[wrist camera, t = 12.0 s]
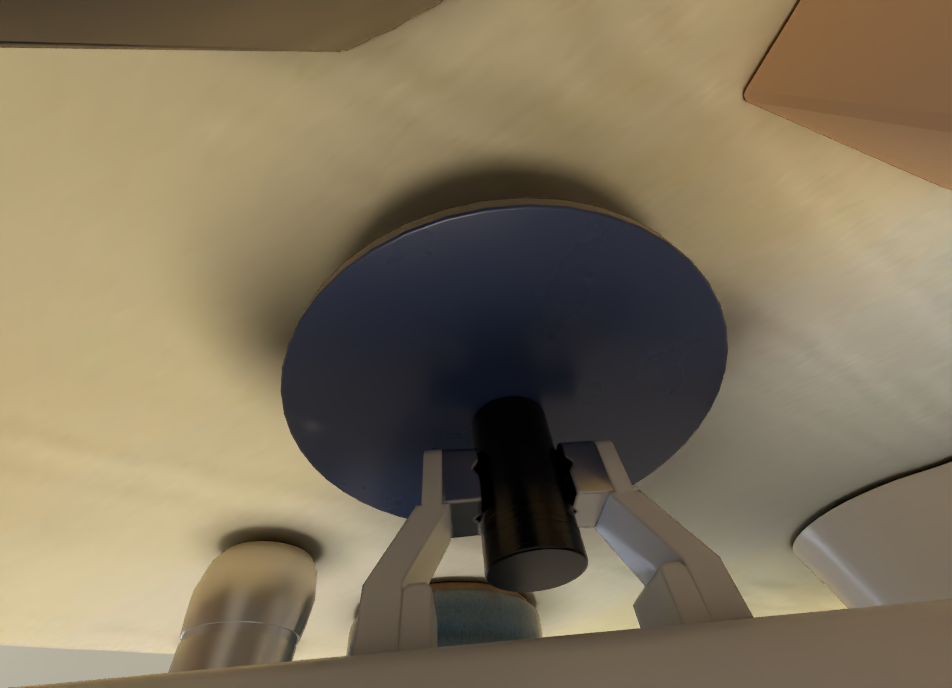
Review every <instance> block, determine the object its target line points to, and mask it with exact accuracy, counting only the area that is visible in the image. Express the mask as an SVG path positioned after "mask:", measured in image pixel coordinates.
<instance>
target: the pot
mask: <svg viewBox="0 0 952 688" xmlns="http://www.w3.org/2000/svg"><path fill="white" fill-rule="evenodd" d="M441 2H442V0H0V48H73V49H148V50H224V51H299V52H341V51H347V50H349V49H351V48H353V47H355V46H357V45H359V44H361V43H363V42H365V41H367V40H369V39H371V38H373V37H376V36H378V35H381V34H383V33H385V32H388V31H390V30H393V29H395V28H397V27H398V26H400V25H402V24H403V23H405V22H406V21H408V20H410V19H411V18H413V17H415V16H416V15H418V14H420V13H422V12H424V11H426V10H428V9H430V8H432V7H434V6H436V5H437V4H439V3H441Z"/></svg>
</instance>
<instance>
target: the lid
mask: <svg viewBox="0 0 952 688" xmlns="http://www.w3.org/2000/svg"><path fill="white" fill-rule="evenodd" d="M727 352H728V344H727V330H726V324H725V320H724V317H723V313H722V310H721V306H720V303H719V301H718V299H717V297H716V295H715V293H714V291H713V290H712V288H711V286H710V284H709V282H708V280H707V279H706V278H705V277H704V276H703V274H702V273H701V272H700V271H699V269H698V268H697V267H696V266H695V265H694V263H693V262H692V261H691V260H690V259H689V258H687V257H686V256H685V255H684V254H683V253H681V252H680V251H679V250H678V249H677V248H675V247H674V246H673V245H672V244H671V243H669V242H668V241H667V240H666V239H664V238H663V237H662V236H661V235H659V234H658V233H656V232H654V231H652V230H651V229H649V228H647V227H645V226H643V225H642V224H640V223H638V222H636V221H635V220H633V219H631V218H628V217H625V216H622V215H620V214H617V213H614V212H611V211H609V210H606V209H603V208H600V207H596V206H591V205H586V204H581V203H576V202H571V201H566V200H556V199H537V198H515V199H503V200H491V201H482V202H477V203H473V204H468V205H464V206H459V207H454V208H450V209H445V210H442V211H439V212H437V213H434V214H431V215H428V216H426V217H423V218H420V219H418V220H415V221H412V222H409V223H407V224H405V225H403V226H401V227H399V228H397V229H395V230H394V231H392V232H390V233H388V234H386V235H384V236H382V237H380V238H378V239H377V240H375V241H373V242H372V243H370V244H369V245H368V246H366V247H365V248H364V249H362V250H361V251H359V252H358V253H357V254H355V255H354V256H353V257H351V258H350V259H349V260H347V261H346V262H345V263H344V264H343V265H342V266H341V267H340V268H339V269H338V270H337V271H336V272H335V273H334V274H333V275H332V276H331V277H330V278H329V279H328V280H327V281H326V282H325V283H324V284H323V285H322V286H321V287H320V289H319V290H318V292H317V293H316V294H315V296H314V297H313V299H312V300H311V301H310V303H309V304H308V306H307V307H306V308H305V310H304V312H303V314H302V316H301V318H300V320H299V322H298V324H297V326H296V328H295V330H294V332H293V334H292V336H291V339H290V341H289V343H288V346H287V350H286V354H285V358H284V362H283V366H282V377H281V396H282V403H283V410H284V415H285V418H286V421H287V423H288V426H289V429H290V432H291V434H292V436H293V438H294V440H295V441H296V443H297V445H298V447H299V449H300V450H301V452H302V453H303V454H304V456H305V457H306V458H307V459H308V461H309V462H310V463H311V464H312V466H313V467H314V468H315V469H316V470H317V471H319V472H320V473H321V474H322V475H323V476H324V477H325V478H326V479H327V480H328V481H330V482H331V483H332V484H334V485H335V486H336V487H338V488H339V489H340V490H342V491H343V492H345V493H347V494H348V495H350V496H352V497H354V498H355V499H357V500H359V501H361V502H363V503H365V504H367V505H369V506H372V507H374V508H376V509H378V510H381V511H384V512H387V513H390V514H393V515H396V516H399V517H403V518H407V519H408V517H409V516H410V514H411V513H412V511H413V510H414V508H415V507H416V506H418V505H422V480H423V456H424V451H425V450H442V451H443V450H445V449H470V448H477V455H478V475H479V476H480V487H481V499H482V508H481V515H480V524H481V536H482V547H483V558H484V570H485V577H486V579H487V581H488V582H489V584H491V585H492V586H494V587H496V588H498V589H502V590H506V591H513V592H534V591H541V590H547V589H551V588H555V587H558V586H561V585H564V584H566V583H568V582H570V581H572V580H574V579H576V578H577V577H579V576H580V575H581V574H582V573H583V572H584V571H585V570H586V568H587V566H588V558H587V554H586V551H585V547H584V544H583V541H582V537H581V534H580V531H579V527H578V524H577V520H576V517H575V514H574V510H573V507H572V504H571V500H570V497H569V494H568V490H567V487H566V483H565V480H564V477H563V473H562V470H561V467H560V463H559V460H558V456H557V453H556V448H557V445H558V443H563V442H576V441H589V440H591V441H597V440H610V441H611V442H612V443H613V445H614V447H615V449H616V451H617V453H618V456H619V458H620V460H621V462H622V464H623V466H624V469H625V471H626V473H627V475H628V477H629V480H630V482H631V484H632V485H633V484H635V483H637V482H638V481H640V480H641V479H643V478H644V477H646V476H647V475H649V474H650V473H652V472H653V471H655V470H656V469H657V468H658V467H660V466H661V465H662V464H663V463H665V462H666V461H667V460H668V459H670V458H671V457H672V456H673V455H674V454H675V453H676V452H677V451H678V450H679V449H680V448H681V447H682V446H683V445H684V444H685V443H686V442H687V441H688V440H689V438H690V437H691V436H692V435H693V434H694V432H695V431H696V430H697V429H698V428H699V426H700V425H701V423H702V421H703V420H704V418H705V417H706V415H707V414H708V412H709V411H710V409H711V407H712V405H713V403H714V401H715V398H716V396H717V394H718V392H719V390H720V386H721V383H722V380H723V376H724V373H725V369H726V360H727Z"/></svg>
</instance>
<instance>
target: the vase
mask: <svg viewBox="0 0 952 688" xmlns="http://www.w3.org/2000/svg"><path fill="white" fill-rule="evenodd" d="M429 585H430V586H431V587H432V592H433V598H434V605H435V611H436V618H437V641H438V647H448V646H458V645H469V644H479V643H490V642H501V641H511V640H522V639H532V638H543V637H542V630H541V623H540V618H539V615H538V613H537V611H536V609H535V608H534V607H533V605H532V604H531V603H530V602H529V601H528V600H527V599H525V598H524V597H523V596H522V595H520V594H519V593H517V592H513V591H506V590H502V589H498V588H496V587H494V586H492V585H491V584H485V583H475V582H445V583H433V584H429ZM357 620H358V616H357V618H356V619H355V621H354V622H353V624H352V626H351V629H350V633H349V639H348V647H347V654H346V656H352V653H353V646H354V640H355V633H356V626H357Z"/></svg>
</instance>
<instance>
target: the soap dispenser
mask: <svg viewBox="0 0 952 688" xmlns="http://www.w3.org/2000/svg"><path fill="white" fill-rule="evenodd" d="M744 97H745V99H746V101H747V102H749V103H752V104H754V105H756V106H759V107H761V108H763V109H765V110H768V111H770V112H772V113H775V114H777V115H779V116H781V117H784V118H786V119H788V120H791V121H793V122H795V123H797V124H800V125H802V126H804V127H807V128H809V129H811V130H813V131H816V132H818V133H820V134H823V135H825V136H827V137H829V138H832V139H834V140H836V141H839V142H841V143H843V144H845V145H848V146H850V147H852V148H854V149H857V150H859V151H861V152H864V153H866V154H868V155H870V156H873V157H875V158H877V159H880V160H882V161H884V162H886V163H889V164H891V165H893V166H896V167H898V168H900V169H902V170H905V171H907V172H909V173H912V174H914V175H916V176H918V177H921V178H923V179H925V180H928V181H930V182H932V183H934V184H937V185H939V186H941V187H944V188H947V189H951V190H952V0H800V2H799V4H798V5H797V7H796V8H795V10H794V12H793V13H792V15H791V17H790V18H789V20H788V22H787V23H786V25H785V26H784V28H783V30H782V31H781V33H780V35H779V36H778V38H777V40H776V41H775V43H774V44H773V46H772V48H771V49H770V51H769V53H768V54H767V56H766V58H765V59H764V61H763V62H762V64H761V66H760V67H759V69H758V71H757V72H756V74H755V76H754V77H753V79H752V80H751V82H750V84H749V85H748V87H747V89H746V90H745V93H744Z"/></svg>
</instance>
